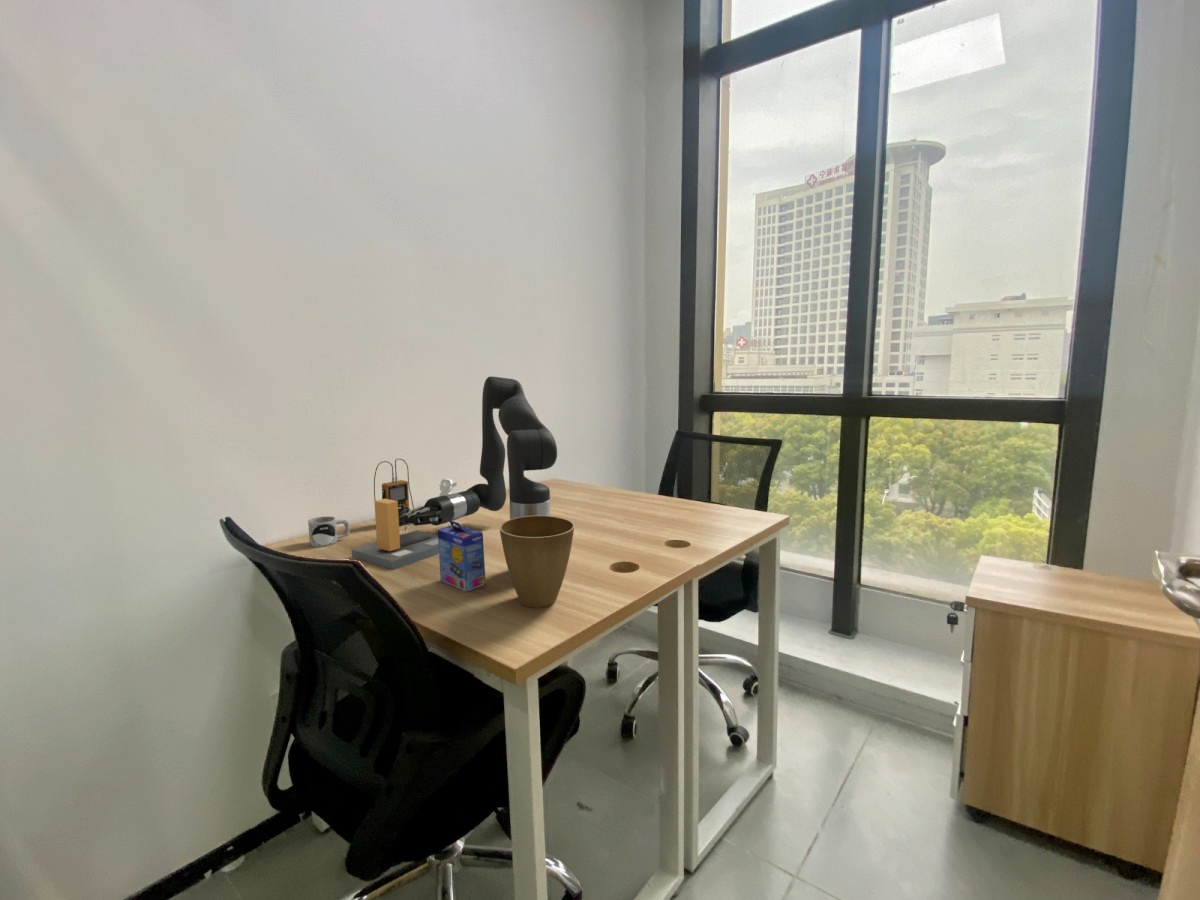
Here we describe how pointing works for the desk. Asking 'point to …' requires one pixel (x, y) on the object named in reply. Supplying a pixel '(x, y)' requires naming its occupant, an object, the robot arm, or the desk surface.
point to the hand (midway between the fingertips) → (392, 523)
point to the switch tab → (387, 524)
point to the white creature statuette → (446, 486)
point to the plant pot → (537, 556)
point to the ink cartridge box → (461, 557)
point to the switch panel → (400, 550)
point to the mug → (325, 531)
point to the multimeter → (396, 491)
